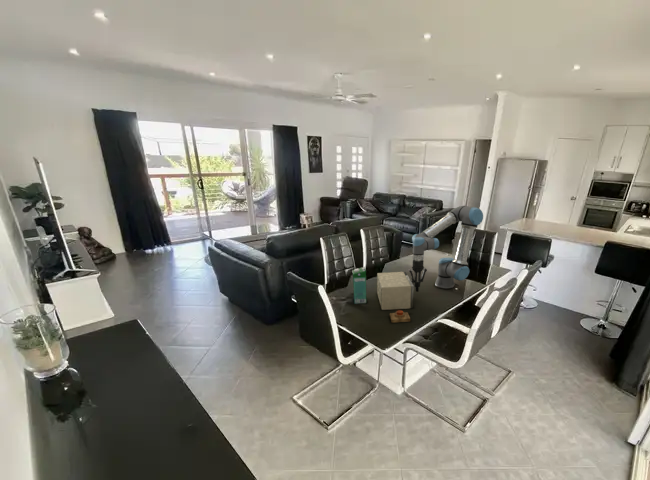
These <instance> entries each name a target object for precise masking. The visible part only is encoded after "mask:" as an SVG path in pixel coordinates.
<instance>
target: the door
mask: <svg viewBox="0 0 650 480" xmlns="http://www.w3.org/2000/svg"><path fill="white" fill-rule="evenodd" d="M406 278H407V279H408V281H409V283H410V285H411V305H410V309H414V291H415V286H414V284H415V283H413V282H412V279H411V278H410V277H409V275H408V274H407V275H406Z"/></svg>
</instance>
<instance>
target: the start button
mask: <svg viewBox="0 0 650 480" xmlns="http://www.w3.org/2000/svg"><path fill="white" fill-rule="evenodd" d="M396 312H397V315H403V312H404V311H403V309H397V310H396Z"/></svg>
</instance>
